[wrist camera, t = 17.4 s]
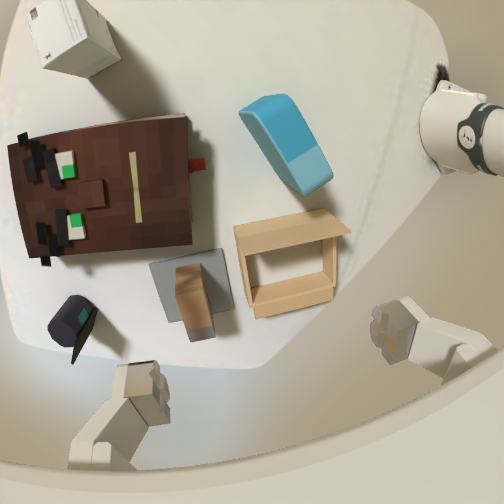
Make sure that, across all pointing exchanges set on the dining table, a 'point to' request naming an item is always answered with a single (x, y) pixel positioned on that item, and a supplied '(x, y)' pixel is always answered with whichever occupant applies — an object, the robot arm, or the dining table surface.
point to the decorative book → (104, 187)
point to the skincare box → (72, 37)
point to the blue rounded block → (287, 142)
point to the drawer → (284, 235)
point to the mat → (212, 276)
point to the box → (194, 302)
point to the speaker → (73, 324)
